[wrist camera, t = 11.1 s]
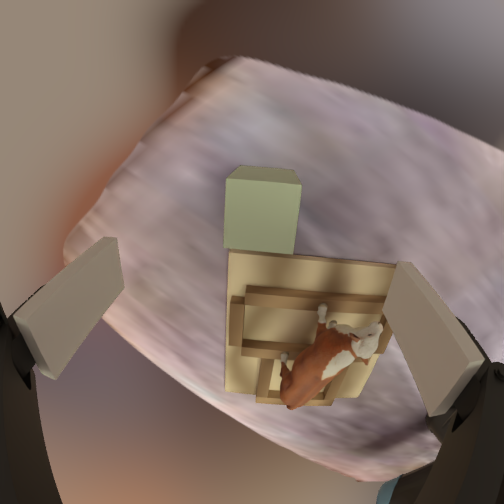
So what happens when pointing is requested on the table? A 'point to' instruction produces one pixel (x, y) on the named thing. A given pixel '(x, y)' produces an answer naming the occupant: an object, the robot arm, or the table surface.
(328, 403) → the beech board
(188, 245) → the table surface
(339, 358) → the bull figurine
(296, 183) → the sage-green tail block
